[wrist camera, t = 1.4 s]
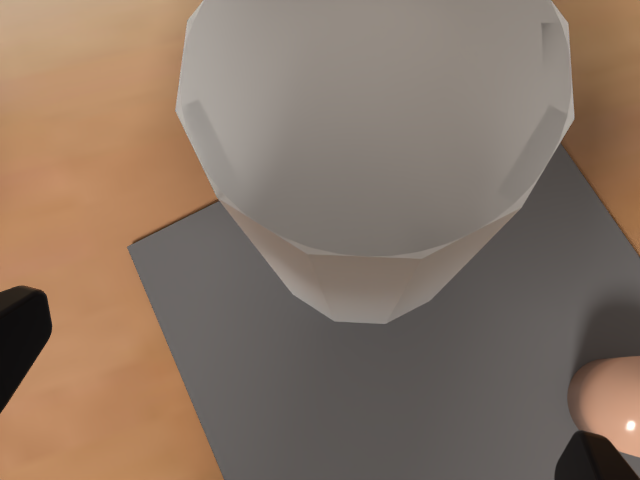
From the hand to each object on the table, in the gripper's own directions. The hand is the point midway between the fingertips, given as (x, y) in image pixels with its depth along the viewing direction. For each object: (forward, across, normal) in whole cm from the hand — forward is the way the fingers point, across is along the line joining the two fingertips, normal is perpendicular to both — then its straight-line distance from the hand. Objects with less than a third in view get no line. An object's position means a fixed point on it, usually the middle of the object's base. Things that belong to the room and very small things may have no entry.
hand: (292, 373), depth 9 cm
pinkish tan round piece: (+10, -10, +7) cm, 16 cm away
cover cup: (+13, 0, +4) cm, 13 cm away
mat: (+10, -4, +8) cm, 13 cm away
